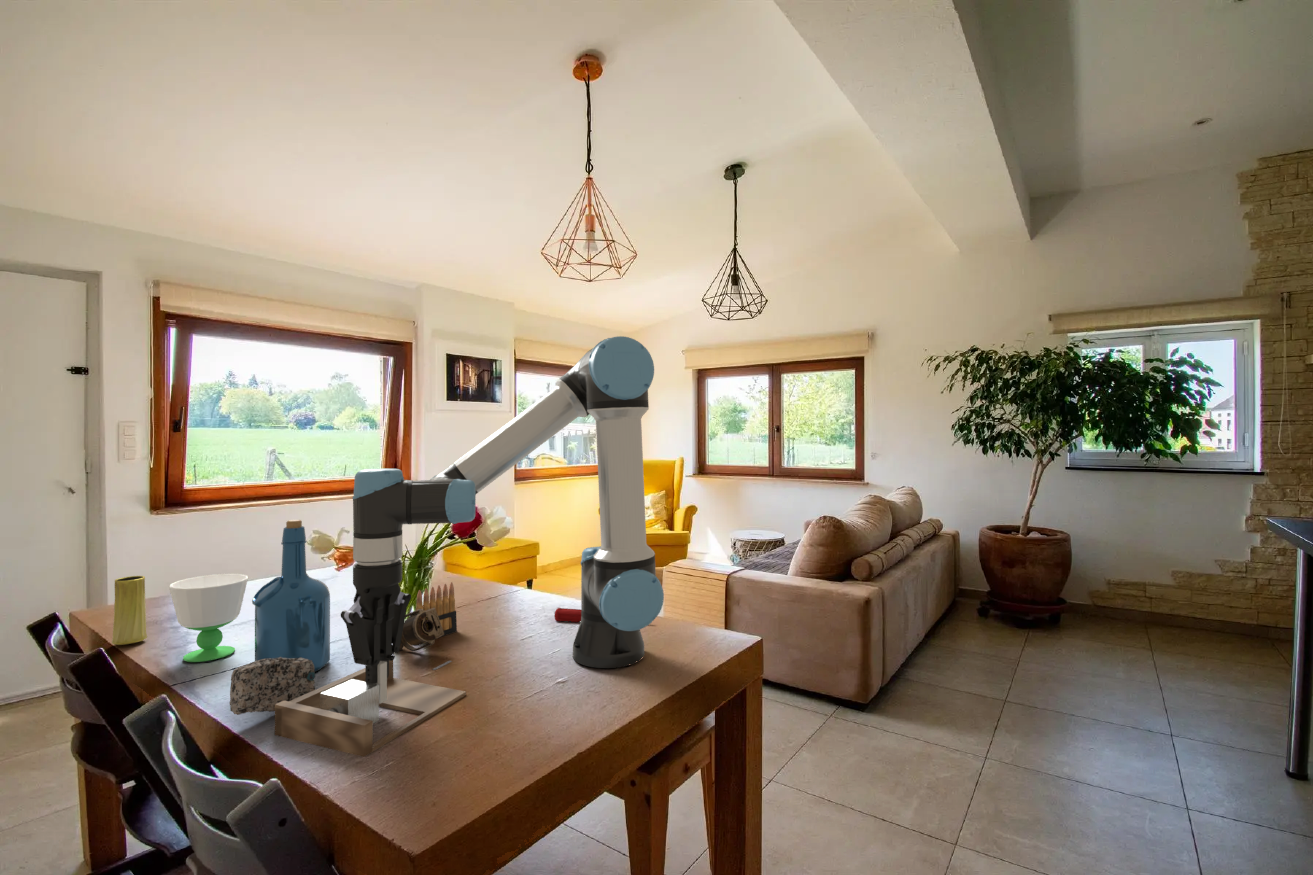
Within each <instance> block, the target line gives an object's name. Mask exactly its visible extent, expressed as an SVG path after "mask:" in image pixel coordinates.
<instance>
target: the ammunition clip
mask: <svg viewBox="0 0 1313 875" xmlns="http://www.w3.org/2000/svg"><path fill="white" fill-rule="evenodd" d="M415 606H416V607H415V611H416V610H418V609H423V610H424V611H426V610H429V609H431V608H435V609H436V612H437V614H438V617H439V620H440V623H441V626H442V628H443V631H444V635H443V636H441V637H444V636H447V635H450V634H453V633H456V632H458V630H457V629H458V628H457V627H458V626H457V625H458V624H457V622H458V620H457V610H456V598H455V587H454V584H453V581H452V582H450V584H449V588H448V586H447V583H445V584H443V589H442V587H441V586H440V585H437V588H436V591H435V587H433V586H431V588H430V593H429V590H428V589H427V588H424V591H423V595H422V591H421V589H419V590H418V592H417V595H416V605H415ZM441 637H440V638H441Z"/></svg>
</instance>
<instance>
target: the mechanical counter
mask: <svg viewBox="0 0 1313 875" xmlns="http://www.w3.org/2000/svg"><path fill="white" fill-rule="evenodd" d="M443 635H444V631H443V628H442V626H441V623H440V620H439V617H438V614H437V612H436V609H435V608H431V609H429V610H426V611H424V610H423V609H418V610H416V609H415V610H414V611H411V612H409V613H406V615H405V621H404V626H403V632H402V637H401V643H400V649H399V651H401V650H403V648H406V649H407V650H408V651H412V652H416V651H419V650H422V649H423V650H424V649H425V648H428V647H430V646H432V645H434V644H435V641H436V640H437V639H439V638H441V636H442V637H444V636H443ZM426 643H427V644H426ZM392 645H393V643H392ZM413 646H414V647H413ZM418 646H419V647H418Z"/></svg>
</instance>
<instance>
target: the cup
mask: <svg viewBox="0 0 1313 875" xmlns="http://www.w3.org/2000/svg"><path fill="white" fill-rule="evenodd" d="M248 577H249V576H248V575H247V574H243V573H219V574H218V573H217V574H209V575H208V574H207V575H199V576H193V577H188V578H184V579H180V580H176V581H175V582H172V583H170V584H169V586H168V588H169V593H170V595H171V599H172V604H173V608H174V611H175V615H176V619H177V622H178V624H179V625H180V626H181V627H184V628H185V629H187V630H192V631H199V633H198V635H197V636H196V639H195V640H196V645H197V646H198V647H199V649H196V650H193V651H190V652H188V653H186V654H185V655H184V656H183V658H182V661H185V662H188V663H201V662H207V661H215V660H217V659H223V658H225V657H228V656H229V655H233V653H234V652H236V648H235V647H233V646H230V645H220V644H221V643H222V641H223V638H224V637H223V632H222V631H221V629H220V628H222V627H224V626H226V625H229V624H231V623H232V622H234V620H236V619H237V618H238V617H239V615H240V614H241V610H242V605H243V601H244V596H245V592H246V588H247V584H248V581H249V580H248V579H249V578H248Z"/></svg>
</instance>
